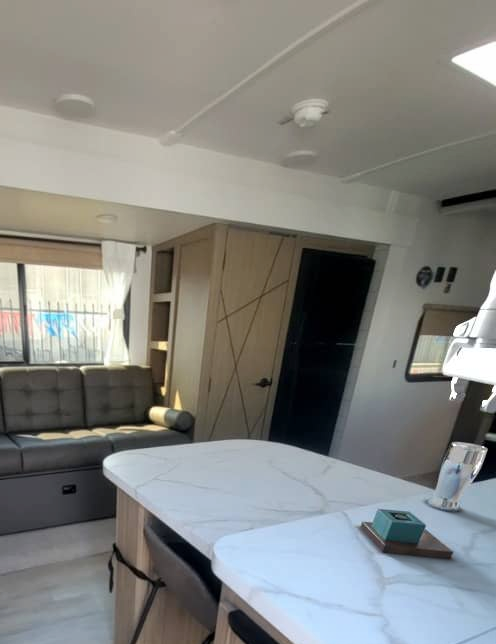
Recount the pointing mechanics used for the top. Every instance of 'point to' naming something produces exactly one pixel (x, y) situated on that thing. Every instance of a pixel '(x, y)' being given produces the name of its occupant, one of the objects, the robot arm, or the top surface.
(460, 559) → the top surface
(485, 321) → the robot arm
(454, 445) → the beer glass
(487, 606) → the top surface
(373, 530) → the base pad
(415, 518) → the teal hollow square block
